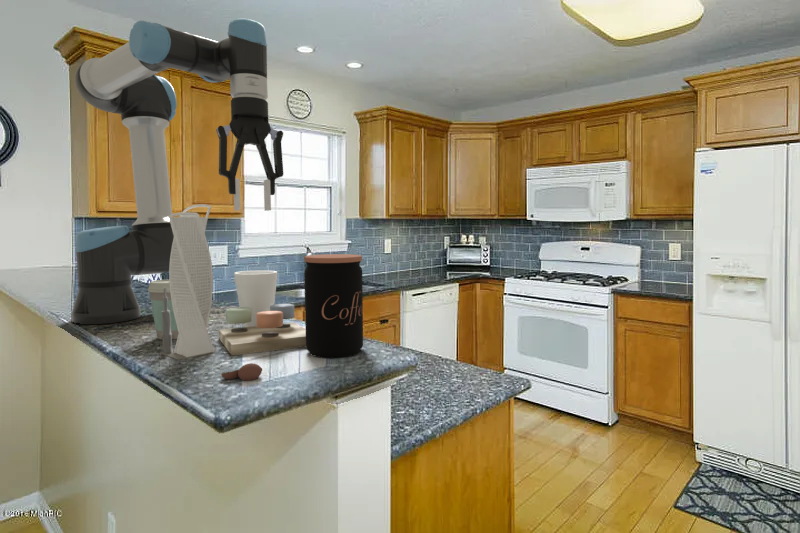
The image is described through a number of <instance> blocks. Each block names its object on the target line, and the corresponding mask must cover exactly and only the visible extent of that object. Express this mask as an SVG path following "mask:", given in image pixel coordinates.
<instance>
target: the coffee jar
mask: <svg viewBox="0 0 800 533" xmlns="http://www.w3.org/2000/svg"><path fill="white" fill-rule="evenodd" d="M303 259H304V262H305V264H306V268H304V273H303V276H304V277H303V280H304V315H305V316H304V318H305V319H304V321H305V329H306V346H305V348H306V350H307V351H308V353H309V354H310V355H311V356H313V357H316V358H321V357H322V359H339V358H341V359H342V358H348V357H352V356H355V355H357V354H359V353H360V351H361V350H362V348H363V347H364V315H363V314H364V313H363V312H364V311H363V310H364V309H363V307H364V304H363V302H364V301H363V300H364V298H363V295H364V294H363V269H362V267H361V266H360V264H361V262H362V261H363V256H362V255H361V254H353V253H351V254H350V253H347V254H346V253H341V254H340V253H337V254H336V253H335V254H334V253H328V254H326V253H325V254H324V253H323V254H311V255H305V256H303Z"/></svg>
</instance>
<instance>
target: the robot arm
mask: <svg viewBox="0 0 800 533" xmlns="http://www.w3.org/2000/svg"><path fill="white" fill-rule="evenodd" d="M227 29H228V30H227V36H228V37H226V38H224V39H222V40H220V41H219V40H218V41H216V40H212V39H209V38H205V37H203V36H199V35H196V34H192V33H189V32H185V31H182V30H179V29H176V28H173V27H169V26H165V25H162V24H161V23H158V22H151V21H146V20H138V21H136V22H135V23H134V24H133V27H132V28H131V30H130V32H129V38H128V42H126V43H124V44H123V45H121V46H119V47H118V48H116V49H114V50H113V51H111V52H109V53H107V54H105V55H104V56H102V57H101V58H100V57H92V58H89V59H87V60H85V61H84V62H82V63H81V64H79V66H78V67H77V69H76V71H75V73H74V85H75V88H76V90H77V93H79V95H80V97H82V99H84V101H86V102H87V104H89V105H90V106H92V107H93V108H96V109H97V110H100V111H104V112H107V113H112V114H117V115H118V114H119V115H120V117H121V123H122V125H123V126H125V128H127V129H128V133H129V142H130V145H129V146H130V153H131V164H132V173H133V174H132V176H133V186H134V195H135V196H134V197H135V204H136V215H137V218H136V220H135V221H134V222H133V223H132V224H131V229H132V230H130V228H129V226H128V225H115V226H105V227H97V228H90V229H85V230H81V231H79V232H78V233H77V234H76V237H75V249H74V251H75V255H76V269H77V270H76V272H77V285H78V287H77V288H78V289H77V290H78V291H77V295H76V297H75V298H76V299H75V301H74V304H73V306H72V307H73V308H72V310H71V322H72V323H73V322H74V323H73V324H76V323H80V324H79V325H103V324H105V325H106V324H114V323H122V322H128V321H132V320H135V319H139V318H140V317H142V316H141V315H142V314H141V307H140V304H139V301H138V300H137V296H136V295H135V293H134V289H133V288H132V276H145V275H156V274H169V264H170V255H171V249H172V243H173V239H174V235H173V231H172V227H171V224H170V220H169V216H170V215H171V214H173V209H172V200H171V199H172V198H171V186H170V179H169V169H168V168H169V167H168V158H167V147H166V136H165V131H166V129H167V128H168V127H169V126H170V121H172V120H173V119H174V117H175V116H176V113H177V111H176V109H177V106H178V105H177V104H178V103H177V102H178V101H177V95H176V92H175V90H174V87H173V86H172V84H171V82H170V81H168V79H166V78H164V77H162V76H160V75H156V74H158V73H161V72H163V71H165V70H168V69H174V70H178V71H184V72H187V73H192V74H196V75H198V76H199V77H200V78H202V80H204V81H206V82H208V83H222V82H225V81H227V80H229V87H230V89H229V90H230V97H231V98H232V99H231V100H230V114H231V115H230V116H231V117H230V121H229V124H228V125H227V124H226V125H223V126H222V125H219V126H217V128H216V131H215V132H216V133H217V134H216V135H217V137H218V139H219V140H218V174H219V176H222V177H224V178H226V179H227V183H228V184H227V185H228V194H229V195H233V208H234V209H233V210H234V211H241V191H240V190H241V189H240V187H241V184H240V178H236V175H237V172H238V169H239V164H240V162H241V158H242V155H243V150H244V147H245V145H251V146H252V145H253V146H256V149H257V151H258V154H259V157H260V160H261V163H262V166H263V170H264V173H265V176H266V179H265V180H264V179H263V200H264V201H263V202H264V203H263V204H264V206H263V207H264V211H268V212H269V211H271V210H272V203H271V202H272V198H271V196H274V195H276V180H277V179H279V178H283V176H284V163H283V151H282V149H283V148H282V141H283V137H284V132H283V131H282V130H277V129H274V128H272V127H271V124H270V122H269V103H268V101H267V99H269V94H268V50H267V49H268V44H267V36H266V29H265V26H264V25H263V24H262V23H260V22H258V21H256V20H252V19H249V18H248V19H247V18H237V19H233V20H231V21H230V22H229V24H228V28H227ZM230 132H231V133H232V135H233V136H234V137H235V139H236V142H235V147H234V152H233V156H232V158H231V163H230V166H229V169H228V168H227V167H228V162H227V161H228V137H229V135H230ZM268 135H270V139H271V140H272V151H273V163H274V166H273V164H272V161H271V158H270V155H269V151H268V150H267V143H266V141H265V140H266V138H267V137H268ZM273 167H274V168H273Z"/></svg>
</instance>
